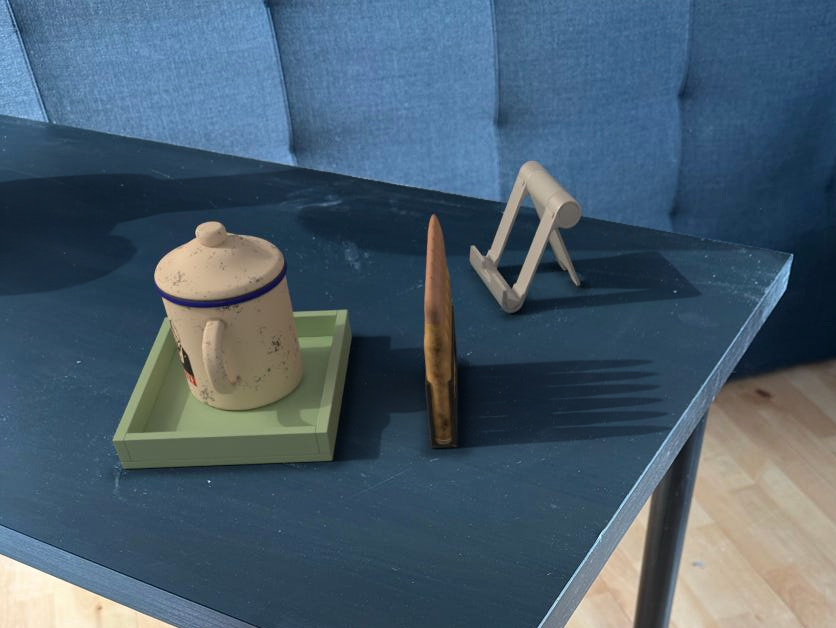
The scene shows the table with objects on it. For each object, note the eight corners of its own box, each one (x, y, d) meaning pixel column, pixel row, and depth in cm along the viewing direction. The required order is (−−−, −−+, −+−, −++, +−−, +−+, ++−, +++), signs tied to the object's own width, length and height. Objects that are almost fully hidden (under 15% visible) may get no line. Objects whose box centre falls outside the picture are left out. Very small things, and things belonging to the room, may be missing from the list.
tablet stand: (470, 270, 83) (465, 171, 77) (553, 254, 84) (555, 156, 78) (502, 315, 77) (499, 213, 71) (590, 297, 79) (595, 196, 72)
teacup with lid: (199, 351, 74) (156, 201, 65) (313, 346, 74) (285, 194, 65) (168, 441, 66) (114, 283, 57) (296, 435, 66) (262, 276, 57)
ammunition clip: (433, 366, 72) (420, 209, 63) (457, 365, 72) (447, 207, 63) (430, 449, 65) (415, 284, 56) (457, 448, 65) (446, 283, 56)
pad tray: (123, 469, 65) (111, 440, 63) (173, 344, 76) (165, 316, 74) (332, 461, 64) (327, 431, 63) (352, 337, 76) (347, 309, 74)
